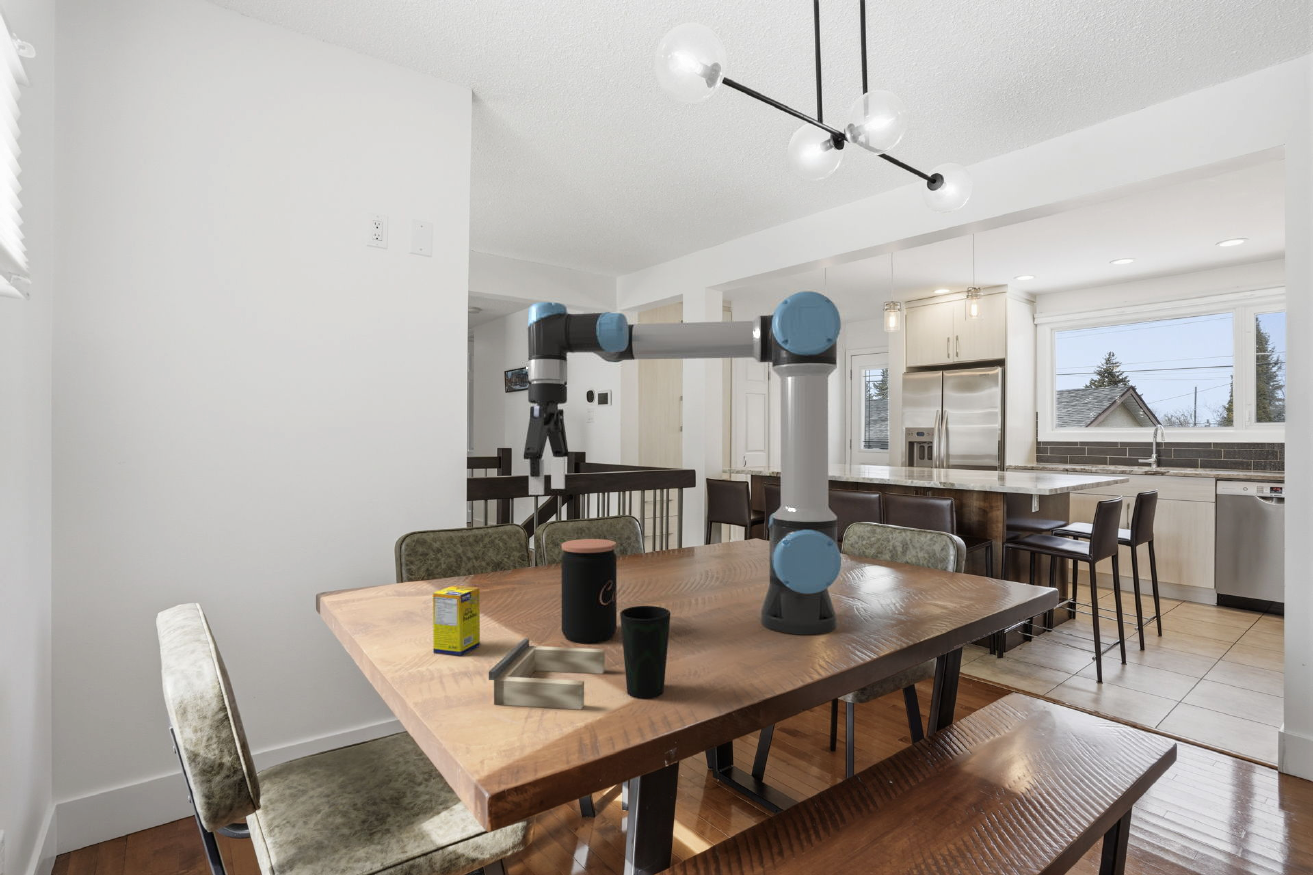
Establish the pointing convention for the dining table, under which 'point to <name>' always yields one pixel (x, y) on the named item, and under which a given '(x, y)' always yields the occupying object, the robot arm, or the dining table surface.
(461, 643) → the supplement box
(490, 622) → the dining table surface
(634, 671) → the cup
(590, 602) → the coffee jar
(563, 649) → the bay
